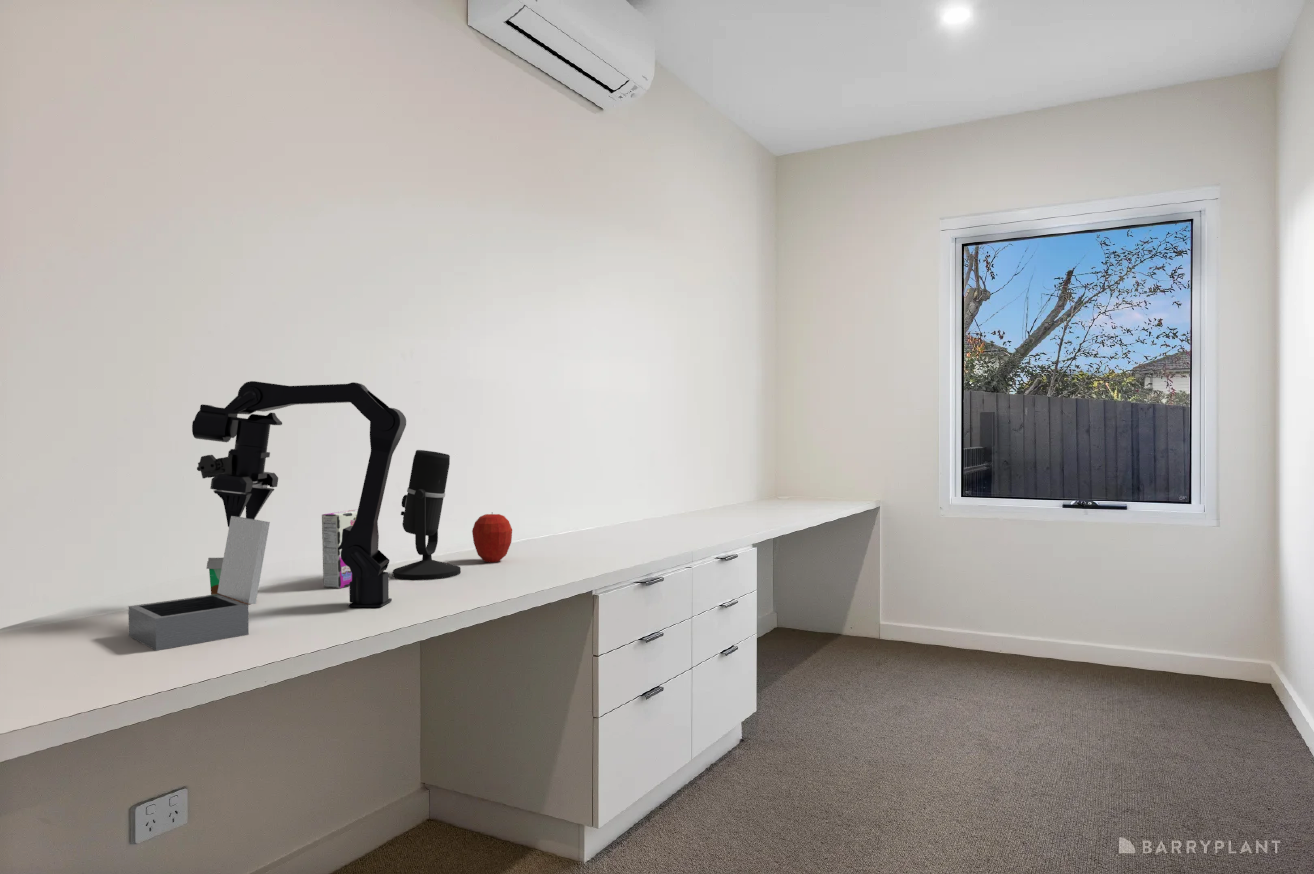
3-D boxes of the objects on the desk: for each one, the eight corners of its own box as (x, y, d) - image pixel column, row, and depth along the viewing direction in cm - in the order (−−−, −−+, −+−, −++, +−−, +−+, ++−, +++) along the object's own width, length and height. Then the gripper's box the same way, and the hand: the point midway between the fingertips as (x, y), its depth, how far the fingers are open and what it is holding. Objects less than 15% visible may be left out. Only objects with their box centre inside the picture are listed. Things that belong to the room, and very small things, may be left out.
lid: (217, 592, 149) (234, 593, 151) (248, 603, 140) (266, 604, 142) (231, 515, 151) (247, 517, 153) (262, 521, 142) (280, 523, 144)
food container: (234, 610, 158) (234, 558, 158) (206, 609, 159) (206, 558, 159) (276, 598, 170) (276, 549, 170) (250, 597, 172) (249, 549, 171)
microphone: (405, 568, 207) (405, 449, 207) (467, 568, 206) (467, 449, 206) (382, 579, 191) (382, 450, 191) (450, 580, 191) (449, 450, 190)
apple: (519, 559, 221) (519, 508, 221) (497, 565, 212) (497, 511, 211) (487, 557, 225) (487, 506, 225) (464, 562, 216) (464, 509, 216)
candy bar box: (354, 578, 192) (354, 508, 192) (372, 580, 191) (372, 509, 191) (320, 587, 182) (320, 513, 182) (339, 589, 180) (339, 514, 180)
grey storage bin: (217, 621, 149) (217, 593, 149) (248, 634, 140) (248, 604, 140) (128, 635, 139) (128, 606, 139) (155, 650, 130) (155, 618, 130)
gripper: (227, 439, 169) (216, 515, 169) (186, 440, 151) (175, 525, 151) (283, 446, 171) (273, 521, 170) (250, 448, 152) (238, 532, 152)
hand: (240, 524), depth 161 cm, fingers open, 9 cm apart
